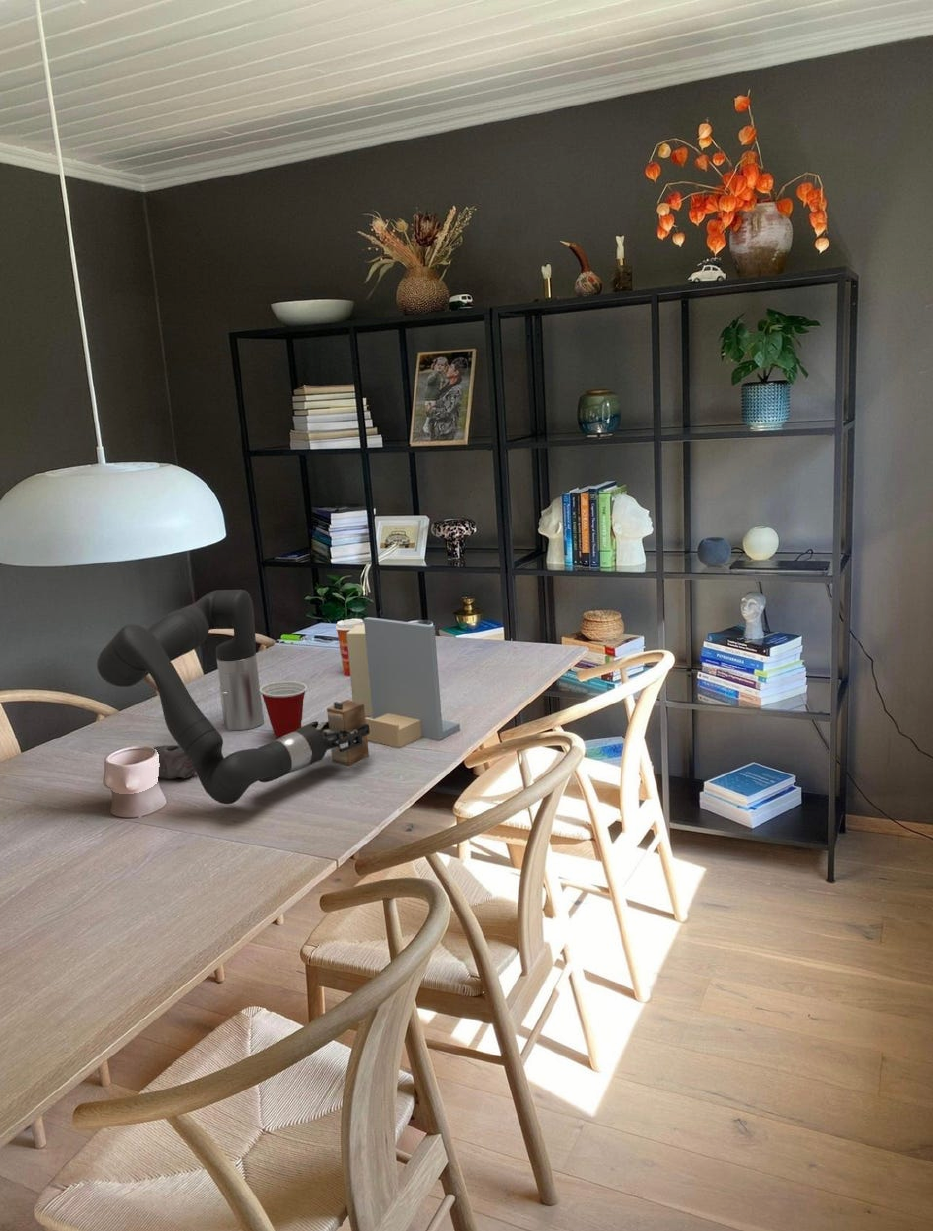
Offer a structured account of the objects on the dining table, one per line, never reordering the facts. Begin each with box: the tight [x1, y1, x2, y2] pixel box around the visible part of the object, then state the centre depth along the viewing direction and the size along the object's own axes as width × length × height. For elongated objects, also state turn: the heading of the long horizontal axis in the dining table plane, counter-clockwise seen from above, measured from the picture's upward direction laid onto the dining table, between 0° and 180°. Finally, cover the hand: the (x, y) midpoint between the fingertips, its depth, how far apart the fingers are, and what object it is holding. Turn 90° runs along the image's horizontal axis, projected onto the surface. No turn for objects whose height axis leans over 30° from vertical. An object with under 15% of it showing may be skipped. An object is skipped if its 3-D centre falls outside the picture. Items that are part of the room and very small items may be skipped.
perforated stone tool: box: [152, 744, 197, 780], centre depth 198 cm, size 15×5×7 cm, turn 72°
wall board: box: [363, 616, 461, 749], centre depth 211 cm, size 15×20×26 cm
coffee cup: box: [335, 618, 364, 677], centre depth 263 cm, size 8×8×15 cm
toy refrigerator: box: [346, 625, 373, 717], centre depth 229 cm, size 8×7×21 cm
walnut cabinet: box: [326, 699, 370, 767], centre depth 199 cm, size 6×5×13 cm
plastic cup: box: [259, 680, 308, 740], centre depth 217 cm, size 11×11×12 cm
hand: (354, 725), depth 201 cm, fingers open, 8 cm apart
